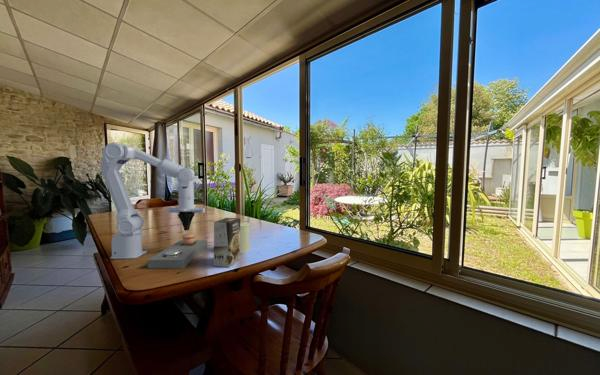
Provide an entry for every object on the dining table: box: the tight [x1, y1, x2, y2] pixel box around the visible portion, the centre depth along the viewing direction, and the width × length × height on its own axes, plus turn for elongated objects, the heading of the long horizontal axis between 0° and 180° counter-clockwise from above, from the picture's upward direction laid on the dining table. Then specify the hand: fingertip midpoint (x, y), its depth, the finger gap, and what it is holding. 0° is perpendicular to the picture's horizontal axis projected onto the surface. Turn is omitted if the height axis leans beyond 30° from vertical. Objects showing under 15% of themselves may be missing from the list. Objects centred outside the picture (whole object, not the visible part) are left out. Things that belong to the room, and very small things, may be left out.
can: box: [240, 221, 251, 254], centre depth 105 cm, size 9×9×12 cm
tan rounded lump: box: [181, 233, 196, 246], centre depth 103 cm, size 5×5×4 cm
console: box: [147, 239, 208, 269], centre depth 97 cm, size 12×25×3 cm, turn 2°
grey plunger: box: [165, 249, 181, 257], centre depth 90 cm, size 5×5×4 cm
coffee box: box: [213, 217, 241, 268], centre depth 90 cm, size 9×6×16 cm
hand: (186, 229), depth 101 cm, fingers closed
